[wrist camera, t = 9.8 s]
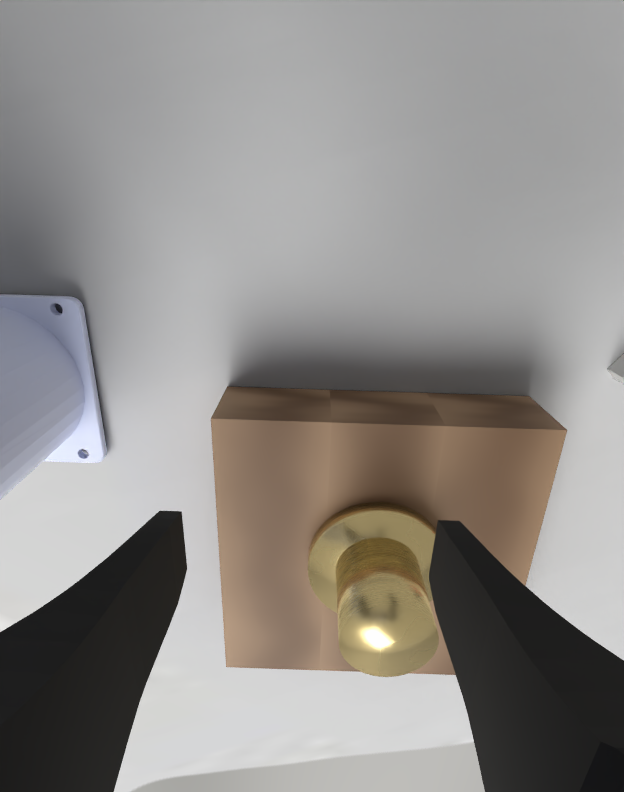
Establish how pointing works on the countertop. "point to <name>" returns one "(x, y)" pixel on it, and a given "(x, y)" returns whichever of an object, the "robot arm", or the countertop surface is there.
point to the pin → (377, 585)
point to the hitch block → (361, 497)
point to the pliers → (618, 369)
